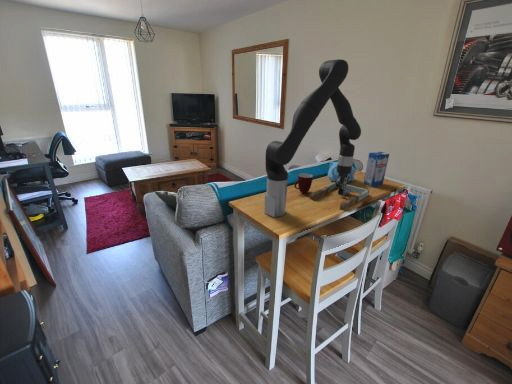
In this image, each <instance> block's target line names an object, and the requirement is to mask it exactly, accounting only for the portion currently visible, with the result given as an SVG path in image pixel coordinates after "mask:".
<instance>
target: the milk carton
mask: <svg viewBox="0 0 512 384" xmlns="http://www.w3.org/2000/svg"><path fill="white" fill-rule="evenodd" d="M389 157H390V153H387V152H382V151H375V152H369V153H368V158H367V162H366V163H367V164H366V169H365V175H364V180H363V185H365V186H367V185H368V187H370V188H373V187H378V186H379V187H381V186H383V185H384V181H385V176H386V171H387V167H388V161H389V159H390V158H389Z"/></svg>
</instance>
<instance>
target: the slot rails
mask: <svg viewBox="0 0 512 384" xmlns="http://www.w3.org/2000/svg"><path fill="white" fill-rule="evenodd" d="M329 191H330V190H329V188H328V187H325V186H324V187H323V188H321V189H318V190H316V191H314V192H312V193H310V197H309V200H312V201H315V200H317V199H319V198H320V197H323V196H325V195H327V194H328V193H329ZM357 200H358V195H356V194H354V195H353V196H350V197H349V198H348V199H346V200H344V201H342V202H340V205H339V210H342V211H344V210H346V209H348V208H350V207H351V206H352V205H354V204H356V203H357V202H358V201H357Z"/></svg>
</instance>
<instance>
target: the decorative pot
mask: <svg viewBox="0 0 512 384" xmlns="http://www.w3.org/2000/svg"><path fill="white" fill-rule="evenodd" d="M337 164H338V161H330V163H329V166H328V167H329V170H328V171H327V178H328V179H329V180H330V181H331V182H335V180H338V175H339V173H338V172H337V171H336V170H337ZM355 173H356V168H355V167H354V166H352V171H351V173H350V174H348V176H349V177H350V178H349V180H348V183H349V182H351V181H354V180H355Z"/></svg>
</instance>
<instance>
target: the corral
mask: <svg viewBox="0 0 512 384" xmlns="http://www.w3.org/2000/svg"><path fill="white" fill-rule="evenodd" d="M325 187H328V188H329V191H331V190H333V189H335V188H337V187H336V183H335V181H333V182H331V183H329V184H327V185H325V186H324V188H325ZM345 187H348V188H350V189H351V190H350V192H353V193H356V194H358V195H357V196H358V200H357V202H361V201H362V200H364V199H366V197H368V196H369V194H370V190H369V189H366V188H363V187H359V186H354V185H350V184H347V185H346V186H345Z"/></svg>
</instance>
